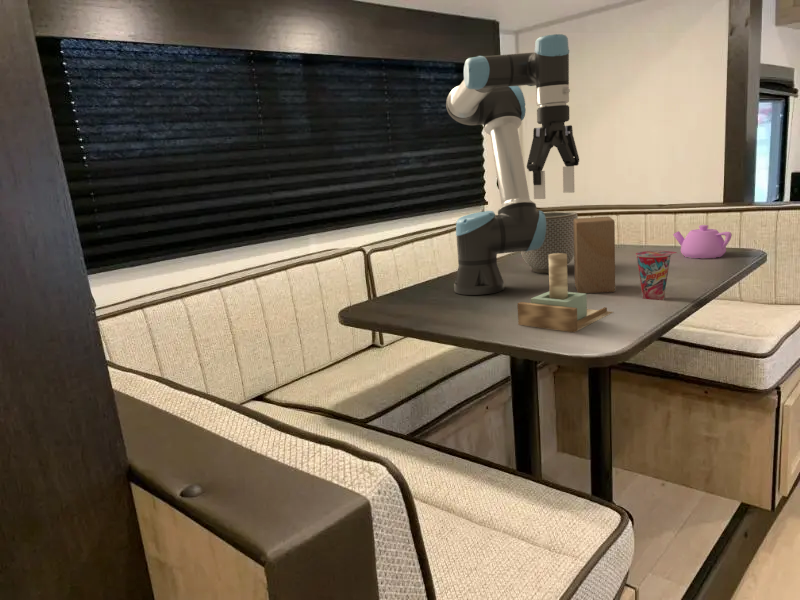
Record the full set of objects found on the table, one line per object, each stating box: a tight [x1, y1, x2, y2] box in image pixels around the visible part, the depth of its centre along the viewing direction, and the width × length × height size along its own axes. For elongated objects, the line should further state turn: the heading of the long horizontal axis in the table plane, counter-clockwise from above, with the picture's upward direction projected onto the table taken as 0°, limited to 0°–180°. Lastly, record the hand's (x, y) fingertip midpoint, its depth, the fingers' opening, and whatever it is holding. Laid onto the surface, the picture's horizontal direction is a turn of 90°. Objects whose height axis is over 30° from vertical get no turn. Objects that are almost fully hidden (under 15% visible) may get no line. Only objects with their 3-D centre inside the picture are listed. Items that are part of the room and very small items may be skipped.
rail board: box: [517, 301, 614, 333], centre depth 138 cm, size 14×19×6 cm
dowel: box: [548, 253, 569, 300], centre depth 135 cm, size 4×4×14 cm
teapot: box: [672, 224, 732, 259], centre depth 203 cm, size 14×20×11 cm
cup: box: [635, 250, 678, 301], centre depth 151 cm, size 9×8×12 cm
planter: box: [520, 210, 578, 274], centre depth 200 cm, size 20×20×19 cm
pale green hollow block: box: [530, 291, 588, 321], centre depth 136 cm, size 9×9×6 cm
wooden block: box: [573, 216, 616, 294], centre depth 167 cm, size 10×10×20 cm
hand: (554, 195), depth 147 cm, fingers open, 13 cm apart
